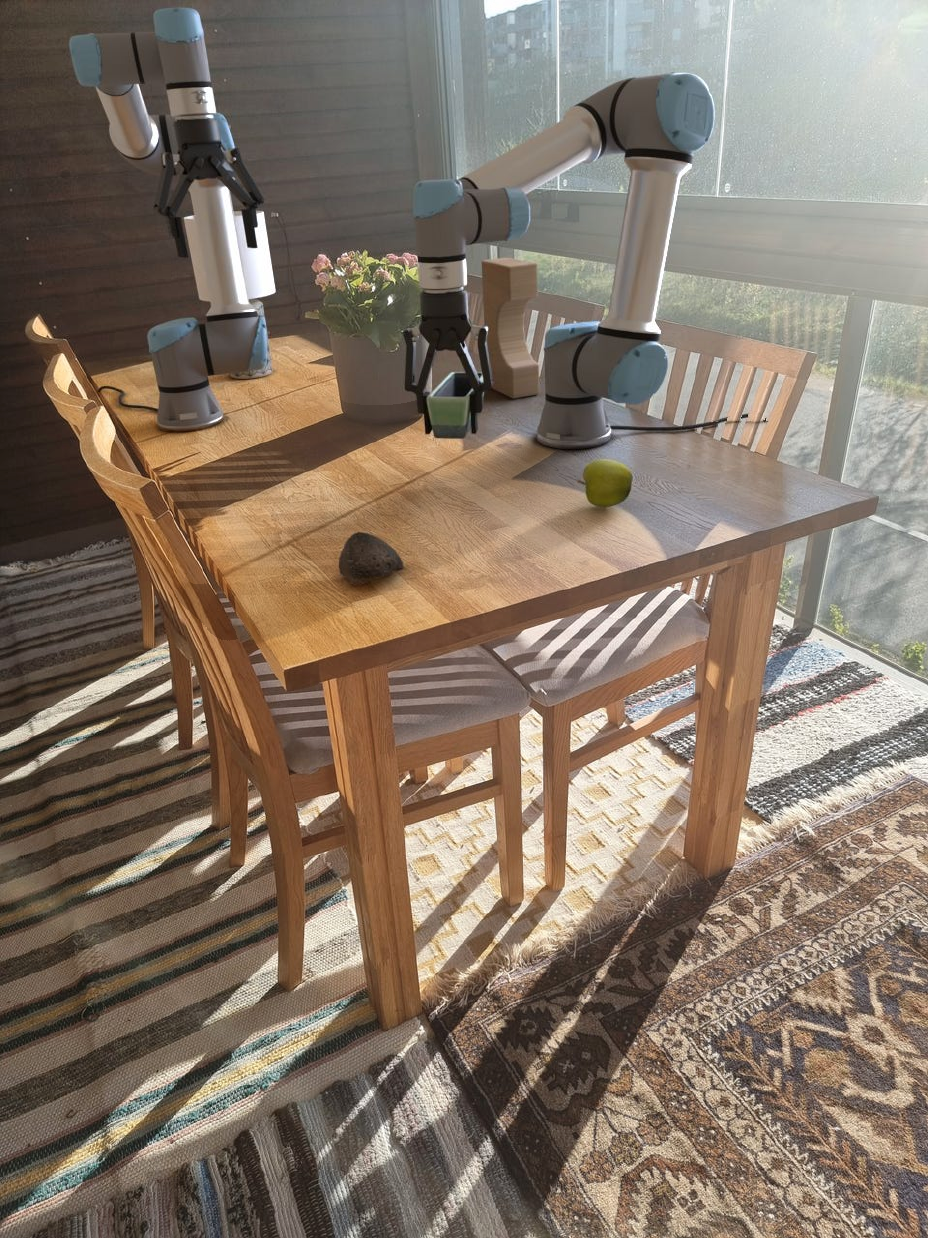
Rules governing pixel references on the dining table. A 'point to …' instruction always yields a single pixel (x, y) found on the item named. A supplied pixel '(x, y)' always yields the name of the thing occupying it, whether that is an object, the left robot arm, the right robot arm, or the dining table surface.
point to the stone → (367, 559)
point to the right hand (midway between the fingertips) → (451, 431)
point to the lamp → (254, 272)
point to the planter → (451, 406)
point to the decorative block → (509, 324)
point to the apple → (606, 482)
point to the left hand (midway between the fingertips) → (218, 252)
